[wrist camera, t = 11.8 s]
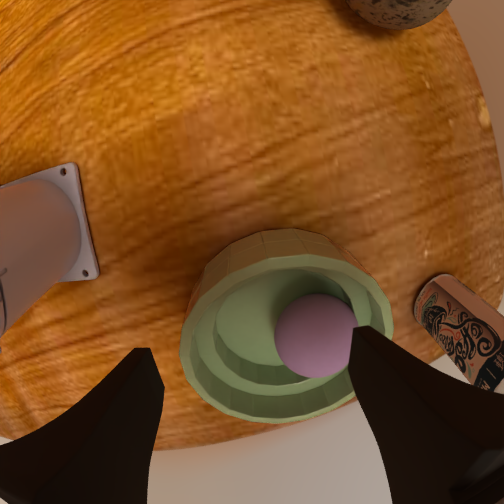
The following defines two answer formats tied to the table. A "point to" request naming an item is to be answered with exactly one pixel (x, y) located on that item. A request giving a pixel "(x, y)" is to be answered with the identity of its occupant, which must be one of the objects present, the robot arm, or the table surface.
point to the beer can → (464, 330)
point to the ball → (315, 335)
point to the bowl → (270, 324)
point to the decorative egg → (398, 12)
